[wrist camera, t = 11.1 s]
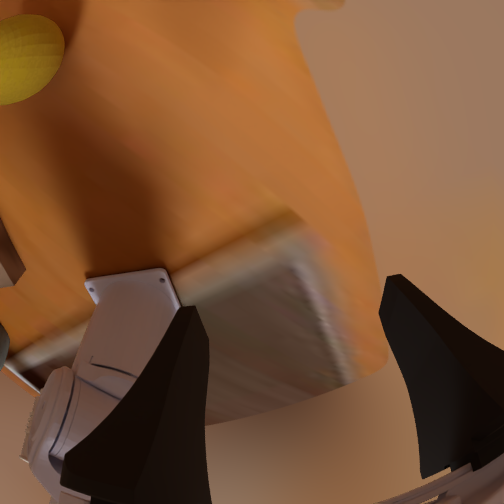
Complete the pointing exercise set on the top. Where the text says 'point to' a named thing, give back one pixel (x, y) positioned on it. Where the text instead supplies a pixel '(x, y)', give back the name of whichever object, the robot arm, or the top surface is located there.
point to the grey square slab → (9, 261)
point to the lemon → (28, 55)
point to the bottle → (3, 345)
